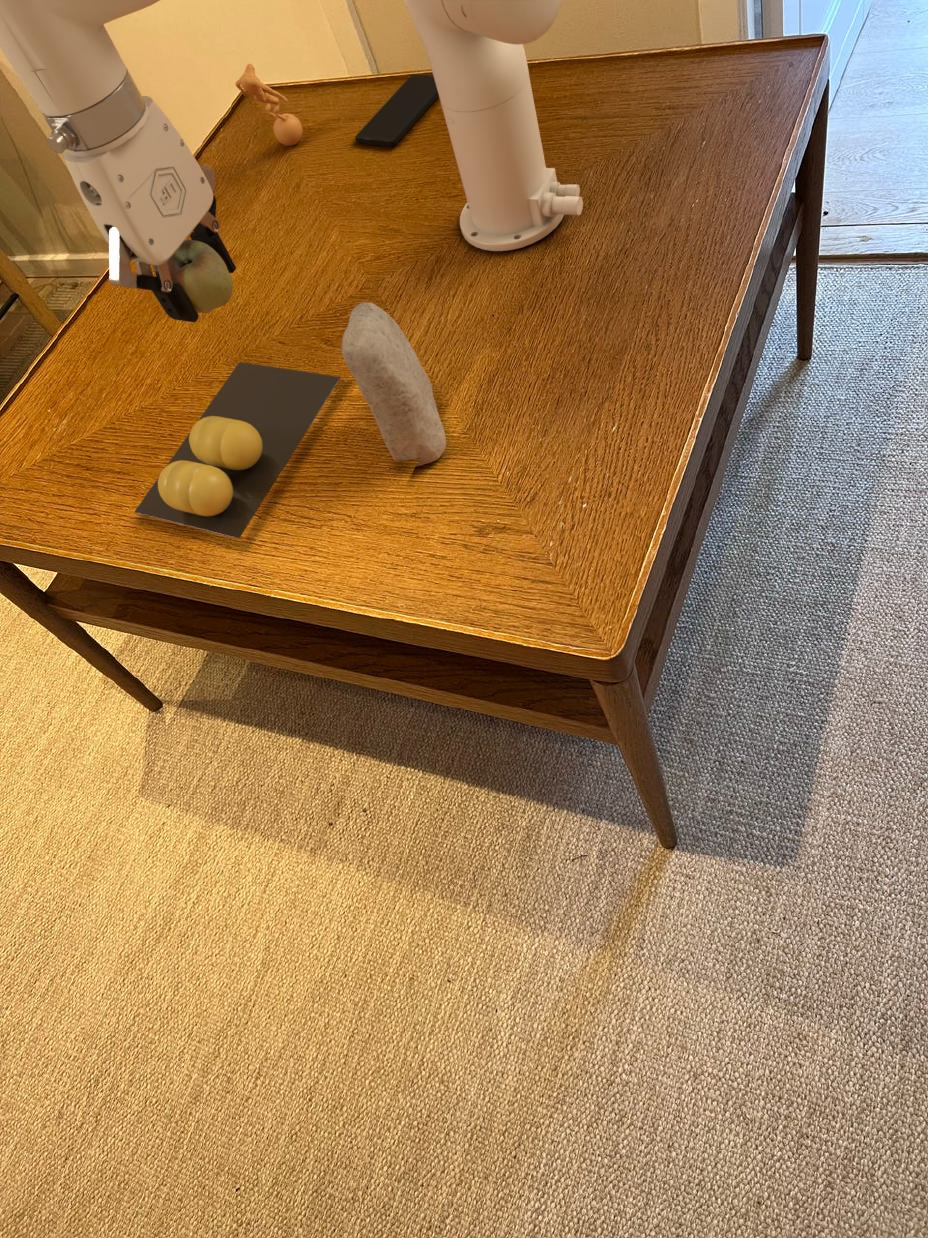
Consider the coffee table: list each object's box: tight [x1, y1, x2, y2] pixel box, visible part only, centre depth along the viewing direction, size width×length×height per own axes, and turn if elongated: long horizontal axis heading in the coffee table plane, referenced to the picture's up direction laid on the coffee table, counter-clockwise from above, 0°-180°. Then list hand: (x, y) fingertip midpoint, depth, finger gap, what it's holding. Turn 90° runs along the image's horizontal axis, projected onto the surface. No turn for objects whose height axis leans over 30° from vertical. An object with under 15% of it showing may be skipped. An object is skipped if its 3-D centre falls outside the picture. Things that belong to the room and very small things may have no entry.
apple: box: [167, 239, 234, 314], centre depth 85 cm, size 6×8×6 cm
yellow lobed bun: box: [189, 416, 262, 470], centre depth 93 cm, size 8×5×5 cm, turn 65°
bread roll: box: [157, 460, 233, 516], centre depth 90 cm, size 8×5×5 cm, turn 65°
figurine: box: [234, 63, 303, 147], centre depth 123 cm, size 8×6×12 cm
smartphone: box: [355, 74, 439, 148], centre depth 124 cm, size 7×1×15 cm
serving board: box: [133, 361, 342, 540], centre depth 96 cm, size 14×22×2 cm, turn 155°
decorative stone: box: [341, 302, 447, 468], centre depth 86 cm, size 11×6×15 cm, turn 5°
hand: (204, 292), depth 87 cm, fingers closed on apple, 6 cm apart
